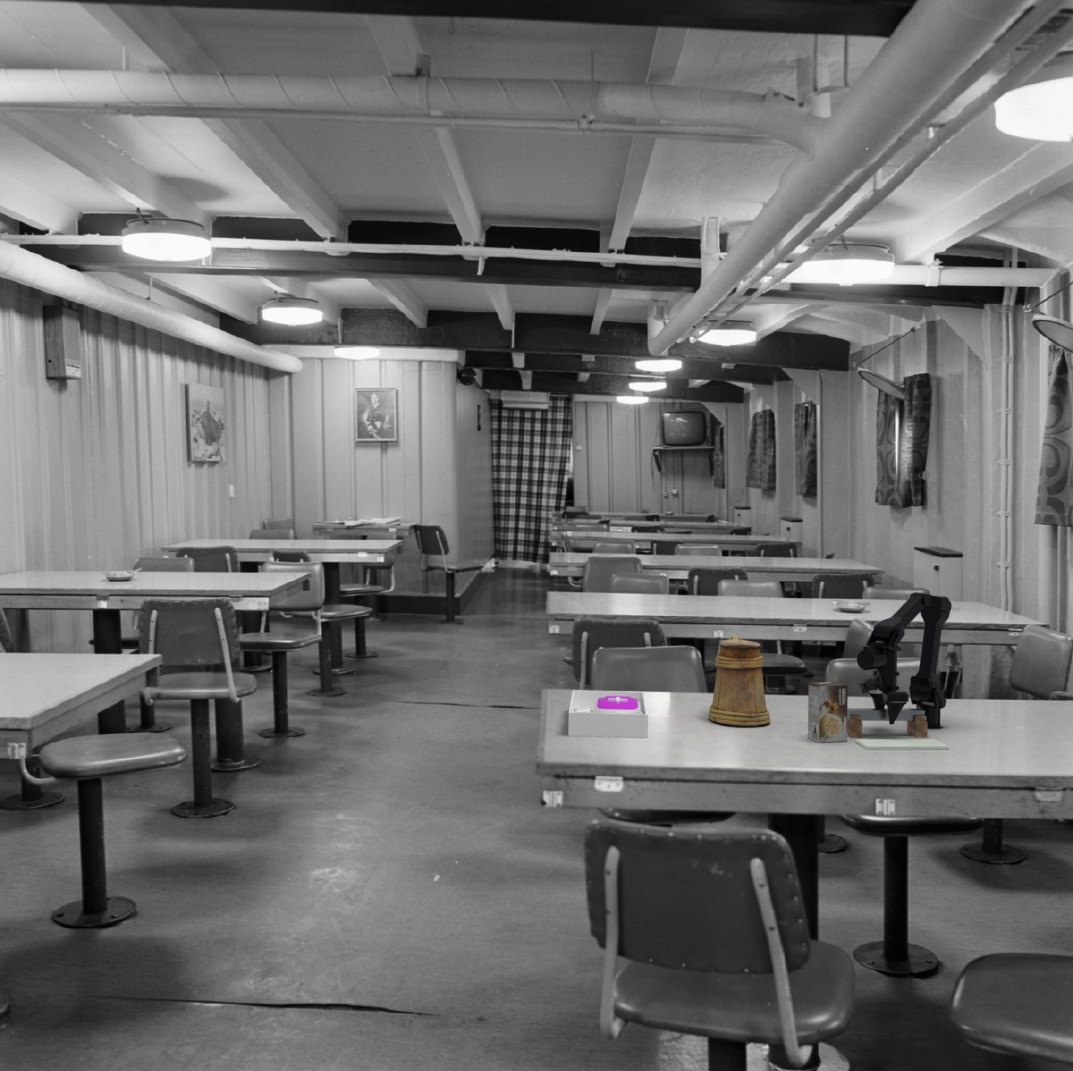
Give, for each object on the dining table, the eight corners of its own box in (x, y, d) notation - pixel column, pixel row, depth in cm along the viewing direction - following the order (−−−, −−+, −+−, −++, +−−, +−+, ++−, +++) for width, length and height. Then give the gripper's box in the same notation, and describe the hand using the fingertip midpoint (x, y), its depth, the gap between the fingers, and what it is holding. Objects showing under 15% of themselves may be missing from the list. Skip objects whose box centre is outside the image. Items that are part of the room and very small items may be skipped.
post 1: (853, 732, 306) (853, 711, 306) (862, 737, 299) (862, 716, 299) (843, 732, 306) (843, 711, 305) (851, 737, 299) (852, 716, 298)
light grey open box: (568, 737, 296) (568, 711, 296) (572, 712, 331) (572, 689, 331) (647, 739, 295) (648, 713, 294) (643, 714, 330) (644, 691, 329)
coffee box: (835, 736, 300) (836, 680, 299) (847, 741, 294) (849, 684, 293) (806, 738, 298) (808, 682, 297) (818, 743, 291) (819, 685, 291)
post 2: (916, 732, 307) (917, 712, 307) (927, 737, 300) (927, 717, 300) (906, 732, 307) (907, 712, 306) (916, 737, 300) (917, 717, 299)
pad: (934, 741, 295) (934, 739, 295) (948, 749, 286) (949, 746, 286) (854, 741, 294) (854, 738, 294) (866, 749, 285) (866, 746, 285)
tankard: (716, 727, 309) (718, 643, 309) (700, 711, 333) (702, 633, 332) (776, 728, 310) (778, 644, 309) (756, 712, 334) (758, 634, 333)
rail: (920, 718, 305) (920, 708, 305) (924, 720, 302) (924, 710, 302) (846, 718, 303) (846, 708, 303) (849, 720, 300) (849, 710, 300)
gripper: (847, 662, 311) (846, 714, 311) (871, 672, 292) (869, 727, 293) (884, 662, 311) (883, 714, 312) (910, 672, 293) (908, 728, 293)
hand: (885, 720), depth 303 cm, fingers open, 9 cm apart
